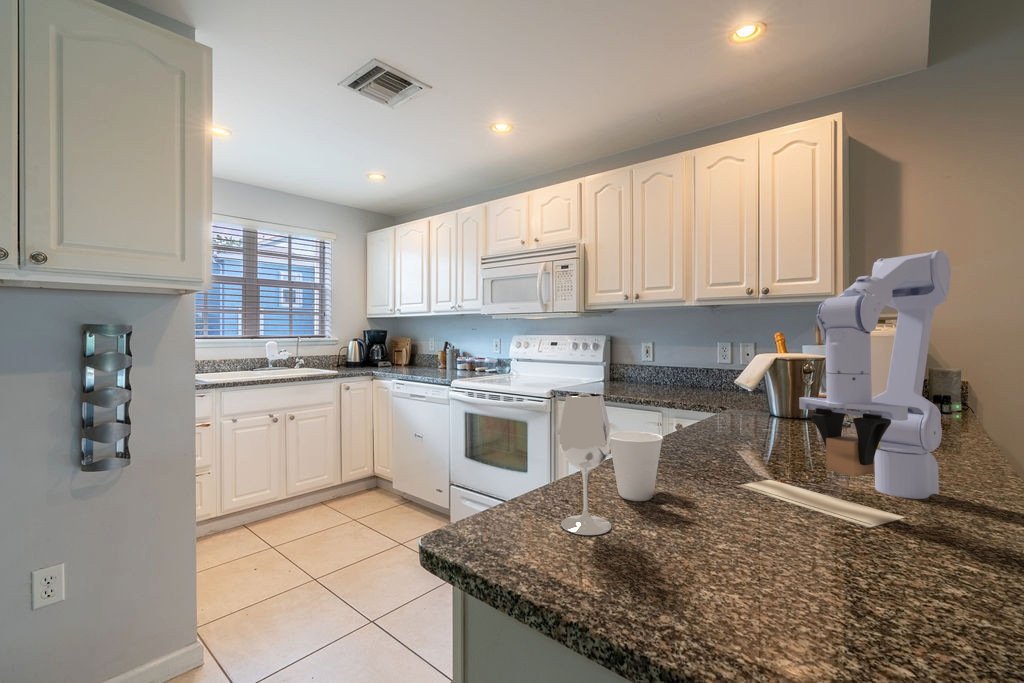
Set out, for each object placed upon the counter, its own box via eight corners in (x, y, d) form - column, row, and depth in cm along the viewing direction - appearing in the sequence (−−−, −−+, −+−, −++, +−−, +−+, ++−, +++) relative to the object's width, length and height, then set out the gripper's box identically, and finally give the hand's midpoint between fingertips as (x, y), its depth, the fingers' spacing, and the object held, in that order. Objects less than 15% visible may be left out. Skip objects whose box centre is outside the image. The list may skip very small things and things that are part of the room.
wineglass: (617, 521, 73) (615, 393, 73) (605, 540, 65) (603, 398, 66) (569, 513, 76) (567, 391, 76) (553, 531, 69) (551, 396, 69)
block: (862, 464, 76) (862, 433, 77) (890, 469, 73) (890, 437, 73) (826, 470, 73) (826, 438, 73) (854, 476, 69) (853, 442, 69)
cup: (667, 507, 79) (666, 442, 79) (608, 503, 81) (607, 440, 81) (660, 489, 88) (660, 431, 89) (607, 486, 90) (607, 430, 91)
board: (770, 487, 89) (769, 479, 89) (905, 527, 69) (905, 517, 69) (736, 493, 85) (736, 485, 85) (869, 537, 65) (869, 527, 65)
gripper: (786, 372, 77) (788, 454, 77) (886, 376, 64) (889, 475, 64) (813, 370, 80) (815, 449, 80) (915, 374, 67) (917, 469, 66)
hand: (850, 460), depth 72 cm, fingers closed on block, 4 cm apart
